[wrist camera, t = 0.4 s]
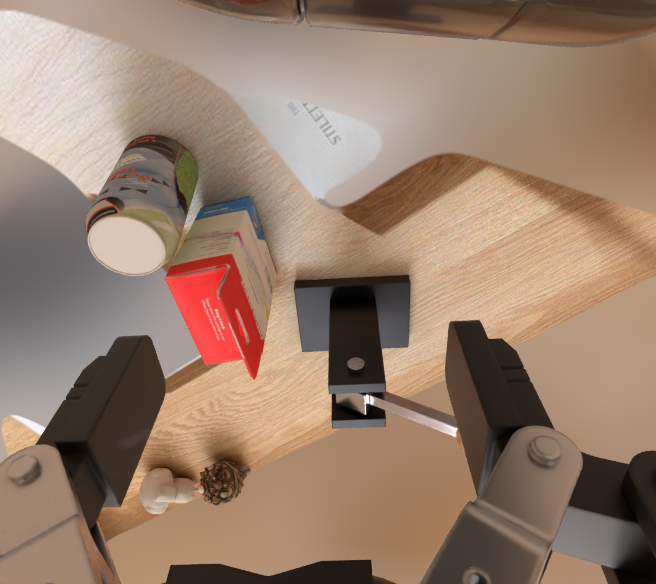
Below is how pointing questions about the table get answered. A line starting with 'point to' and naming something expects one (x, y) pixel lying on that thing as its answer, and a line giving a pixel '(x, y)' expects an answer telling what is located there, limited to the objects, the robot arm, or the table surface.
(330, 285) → the lever base
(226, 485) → the pendant
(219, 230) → the ink box
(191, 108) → the table surface
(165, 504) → the white lobed figurine
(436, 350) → the table surface
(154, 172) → the beverage can
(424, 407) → the lever with brass knob
